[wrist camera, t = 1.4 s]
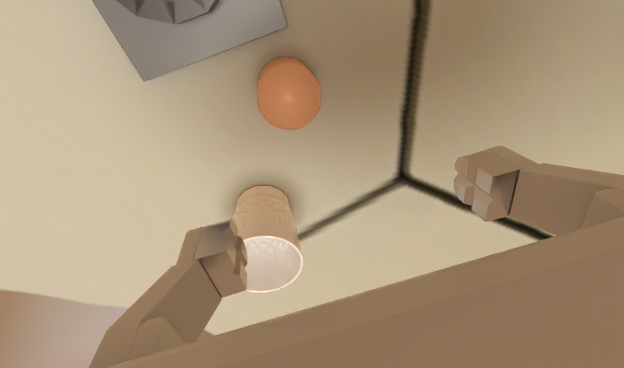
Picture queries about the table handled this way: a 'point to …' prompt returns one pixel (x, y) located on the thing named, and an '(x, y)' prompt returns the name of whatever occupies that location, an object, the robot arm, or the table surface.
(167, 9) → the square flange plate
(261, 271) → the white cup
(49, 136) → the table surface
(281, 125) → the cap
